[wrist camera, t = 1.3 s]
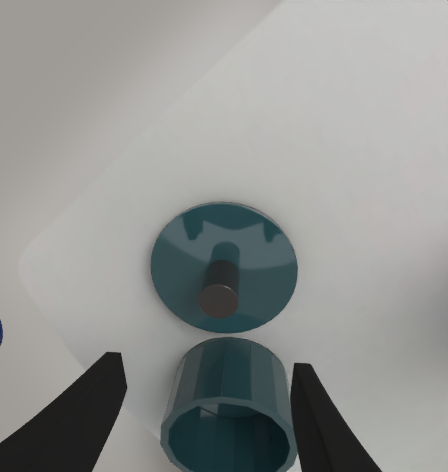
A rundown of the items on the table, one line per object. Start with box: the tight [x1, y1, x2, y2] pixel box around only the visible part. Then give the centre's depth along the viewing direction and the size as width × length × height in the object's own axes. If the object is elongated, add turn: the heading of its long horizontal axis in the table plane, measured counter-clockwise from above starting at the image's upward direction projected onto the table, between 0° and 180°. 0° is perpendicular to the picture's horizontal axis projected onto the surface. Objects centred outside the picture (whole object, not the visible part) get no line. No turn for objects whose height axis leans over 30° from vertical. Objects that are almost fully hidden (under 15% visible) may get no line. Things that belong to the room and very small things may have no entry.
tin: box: [160, 338, 298, 472], centre depth 22 cm, size 10×10×5 cm
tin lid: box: [151, 202, 298, 333], centre depth 18 cm, size 10×10×4 cm
